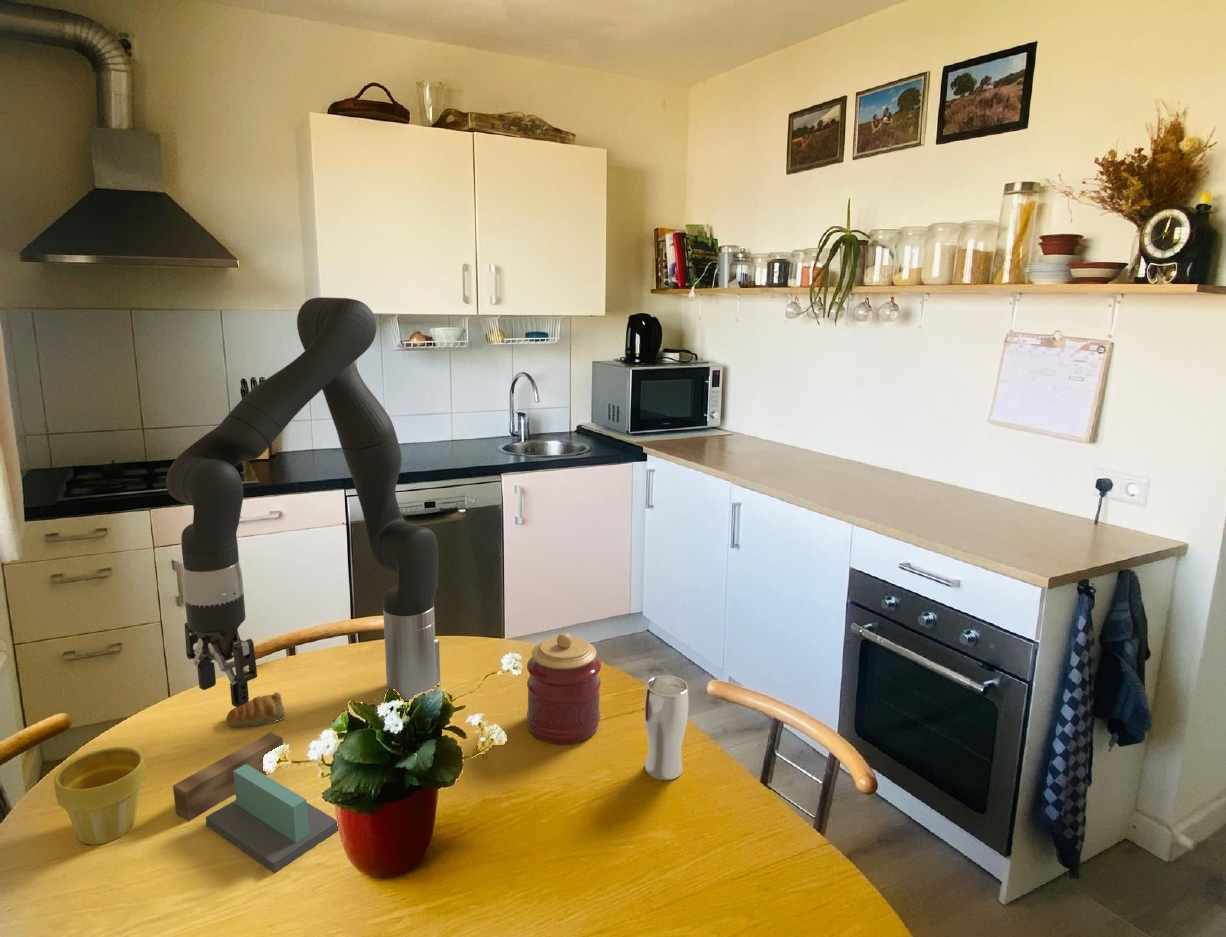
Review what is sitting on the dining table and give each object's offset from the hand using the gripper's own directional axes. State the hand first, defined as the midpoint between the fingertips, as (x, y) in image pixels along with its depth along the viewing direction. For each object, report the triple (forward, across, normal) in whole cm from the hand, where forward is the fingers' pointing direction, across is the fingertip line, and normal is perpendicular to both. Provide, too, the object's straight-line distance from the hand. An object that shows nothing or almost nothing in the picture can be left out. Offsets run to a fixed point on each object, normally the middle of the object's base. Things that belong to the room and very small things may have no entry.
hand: (223, 695), depth 113 cm
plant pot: (+16, +6, +15) cm, 22 cm away
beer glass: (+15, -52, -42) cm, 69 cm away
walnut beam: (+16, 0, 0) cm, 16 cm away
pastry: (+16, +15, -14) cm, 26 cm away
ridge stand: (+16, -13, +2) cm, 20 cm away
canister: (+15, -31, -43) cm, 55 cm away
